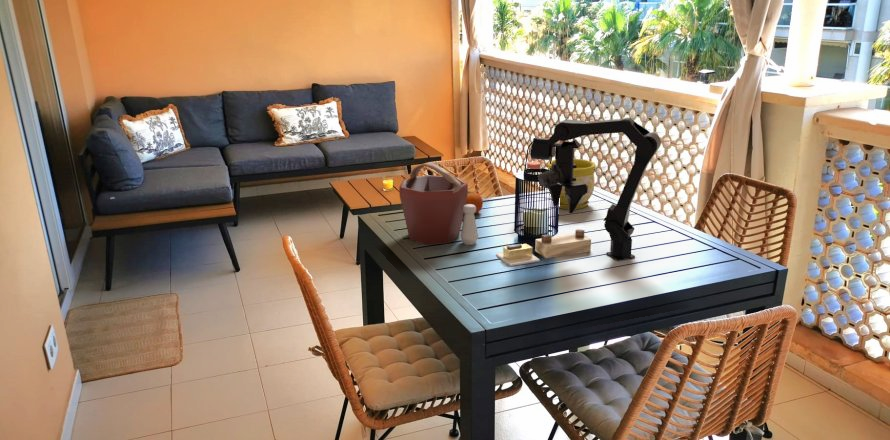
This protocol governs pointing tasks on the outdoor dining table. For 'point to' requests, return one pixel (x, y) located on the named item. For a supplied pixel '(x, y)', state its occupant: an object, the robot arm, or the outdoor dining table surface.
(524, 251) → the tan slotted block
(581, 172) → the flowerpot
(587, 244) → the plane body
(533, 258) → the mat
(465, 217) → the salt shaker
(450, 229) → the bucket
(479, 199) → the fruit
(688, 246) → the outdoor dining table surface
